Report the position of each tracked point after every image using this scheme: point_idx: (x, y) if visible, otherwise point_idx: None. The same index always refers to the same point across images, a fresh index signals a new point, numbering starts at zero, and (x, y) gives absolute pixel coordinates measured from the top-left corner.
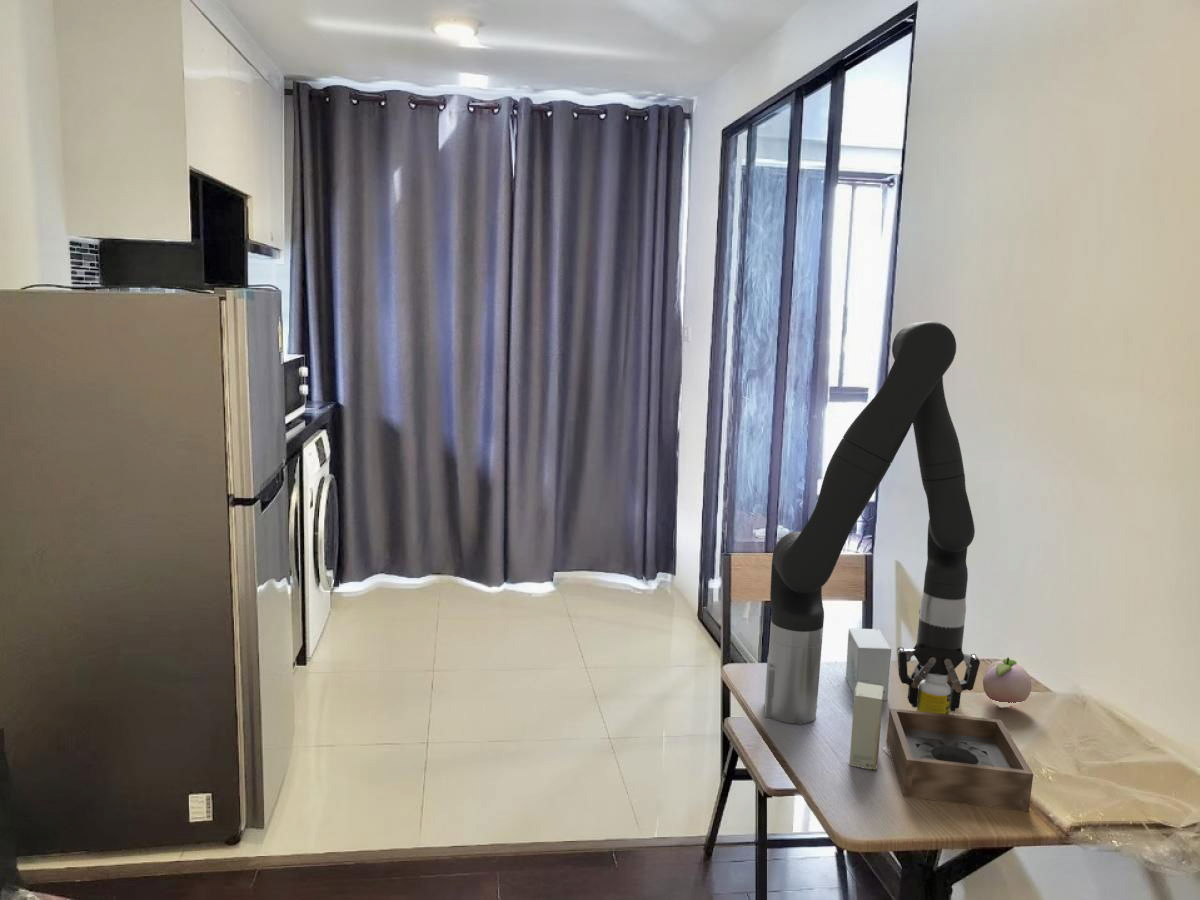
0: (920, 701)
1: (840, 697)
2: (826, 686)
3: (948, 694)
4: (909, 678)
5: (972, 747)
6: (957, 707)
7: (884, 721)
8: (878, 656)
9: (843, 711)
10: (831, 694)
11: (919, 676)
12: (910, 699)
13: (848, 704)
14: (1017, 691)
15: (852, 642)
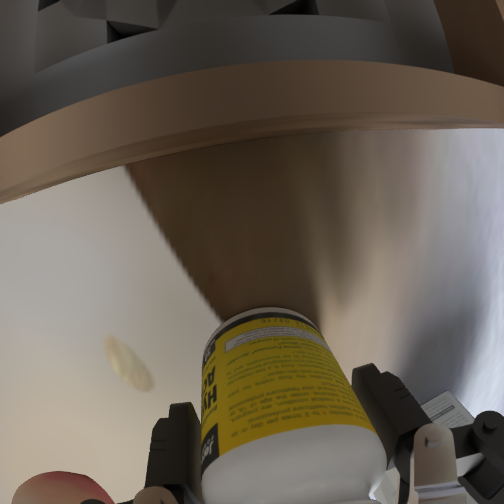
0: (353, 391)
1: (476, 371)
2: (478, 399)
3: (213, 464)
4: (467, 455)
5: (87, 8)
6: (161, 423)
7: (422, 293)
8: (471, 501)
9: (495, 299)
10: (485, 372)
11: (449, 489)
12: (395, 385)
13: (474, 347)
14: (23, 497)
15: None
